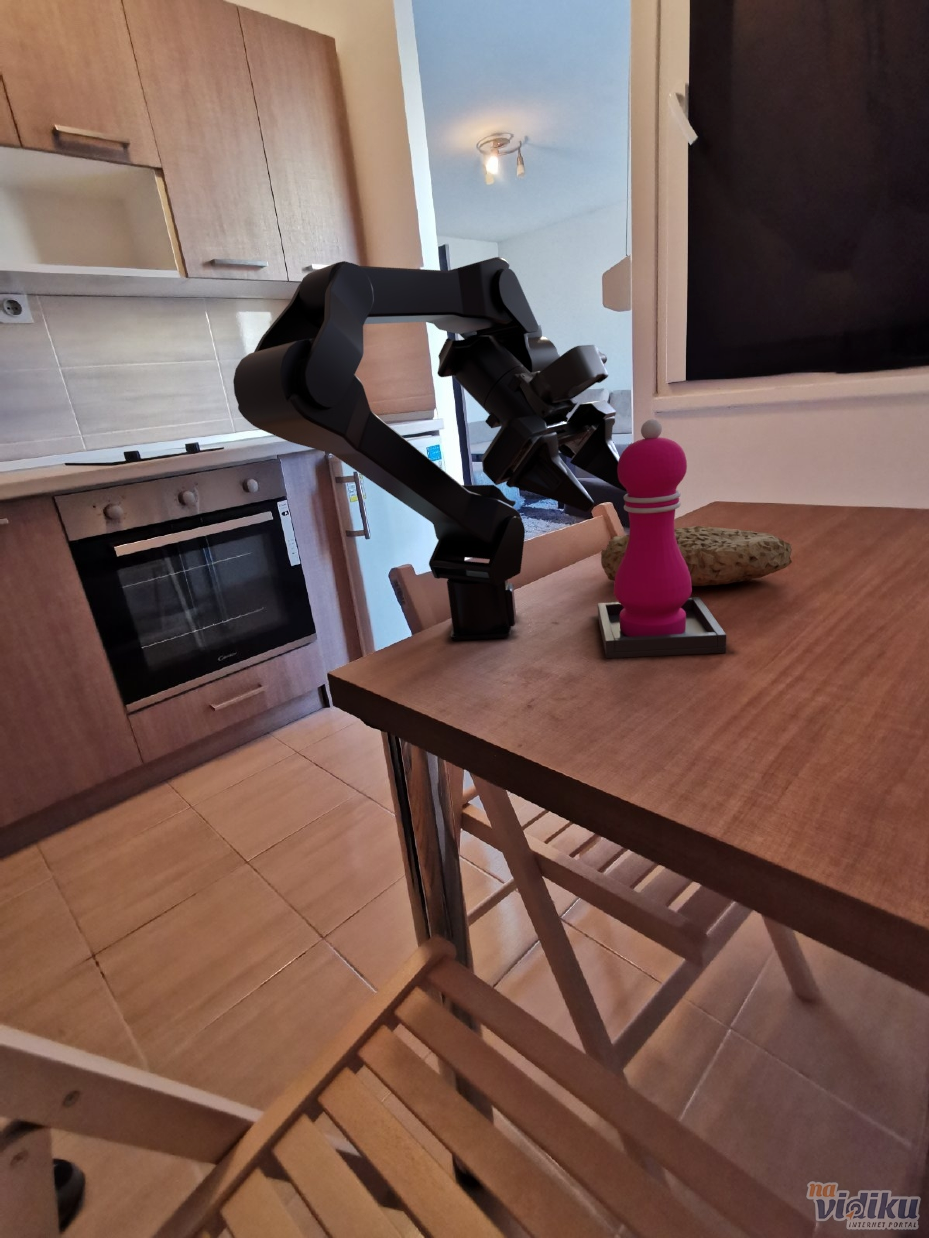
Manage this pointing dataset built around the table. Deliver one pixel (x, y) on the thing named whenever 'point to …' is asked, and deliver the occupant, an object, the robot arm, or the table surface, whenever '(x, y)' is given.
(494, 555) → the robot arm
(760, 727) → the table surface
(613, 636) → the shallow square tray
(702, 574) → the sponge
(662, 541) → the pepper mill
